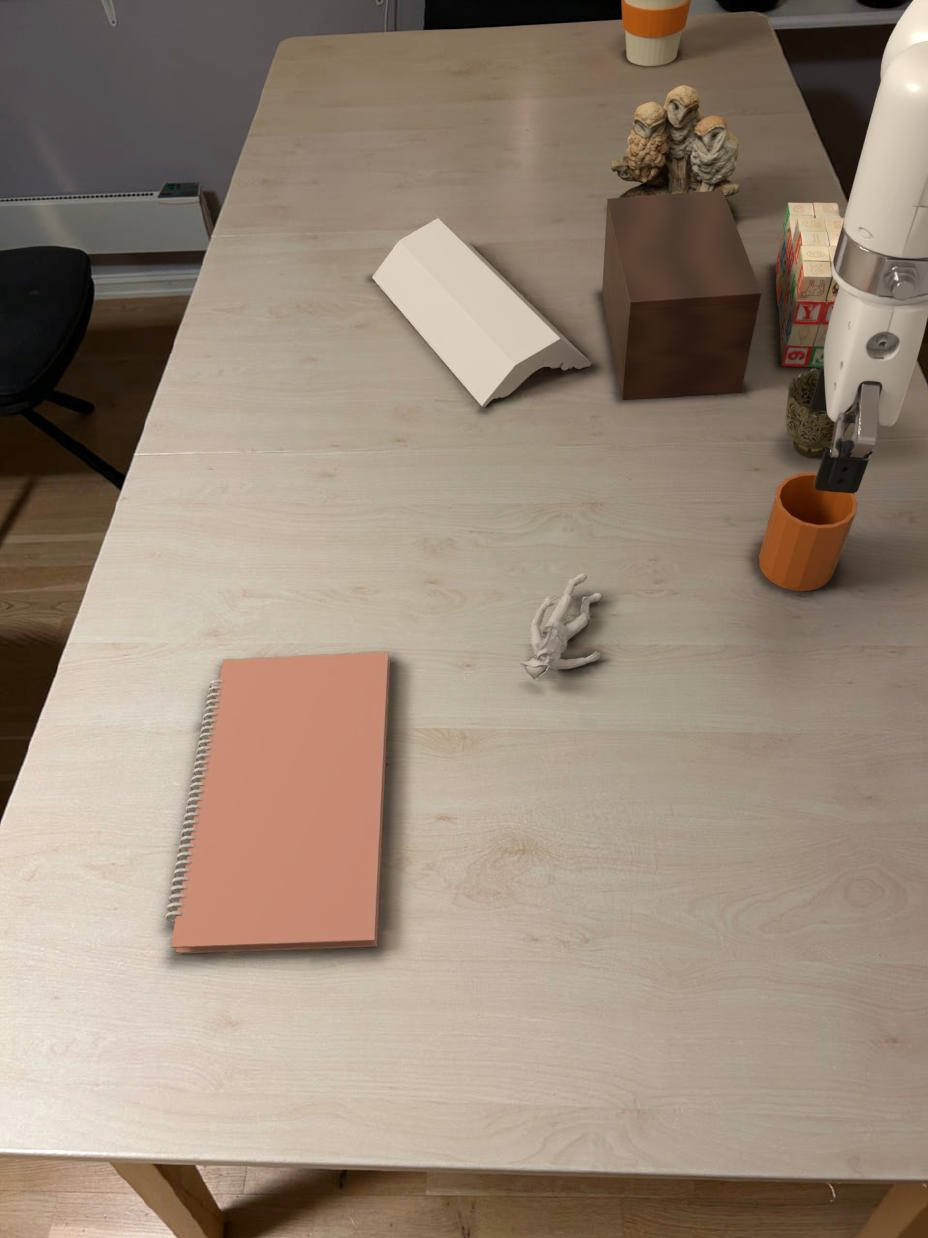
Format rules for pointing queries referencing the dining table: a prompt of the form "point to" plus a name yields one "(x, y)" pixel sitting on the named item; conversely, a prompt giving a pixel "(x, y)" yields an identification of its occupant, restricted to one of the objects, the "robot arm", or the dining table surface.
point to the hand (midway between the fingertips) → (832, 447)
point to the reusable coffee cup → (653, 29)
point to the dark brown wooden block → (677, 295)
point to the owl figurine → (678, 149)
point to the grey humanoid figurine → (558, 632)
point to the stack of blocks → (806, 281)
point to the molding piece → (471, 313)
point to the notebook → (287, 807)
